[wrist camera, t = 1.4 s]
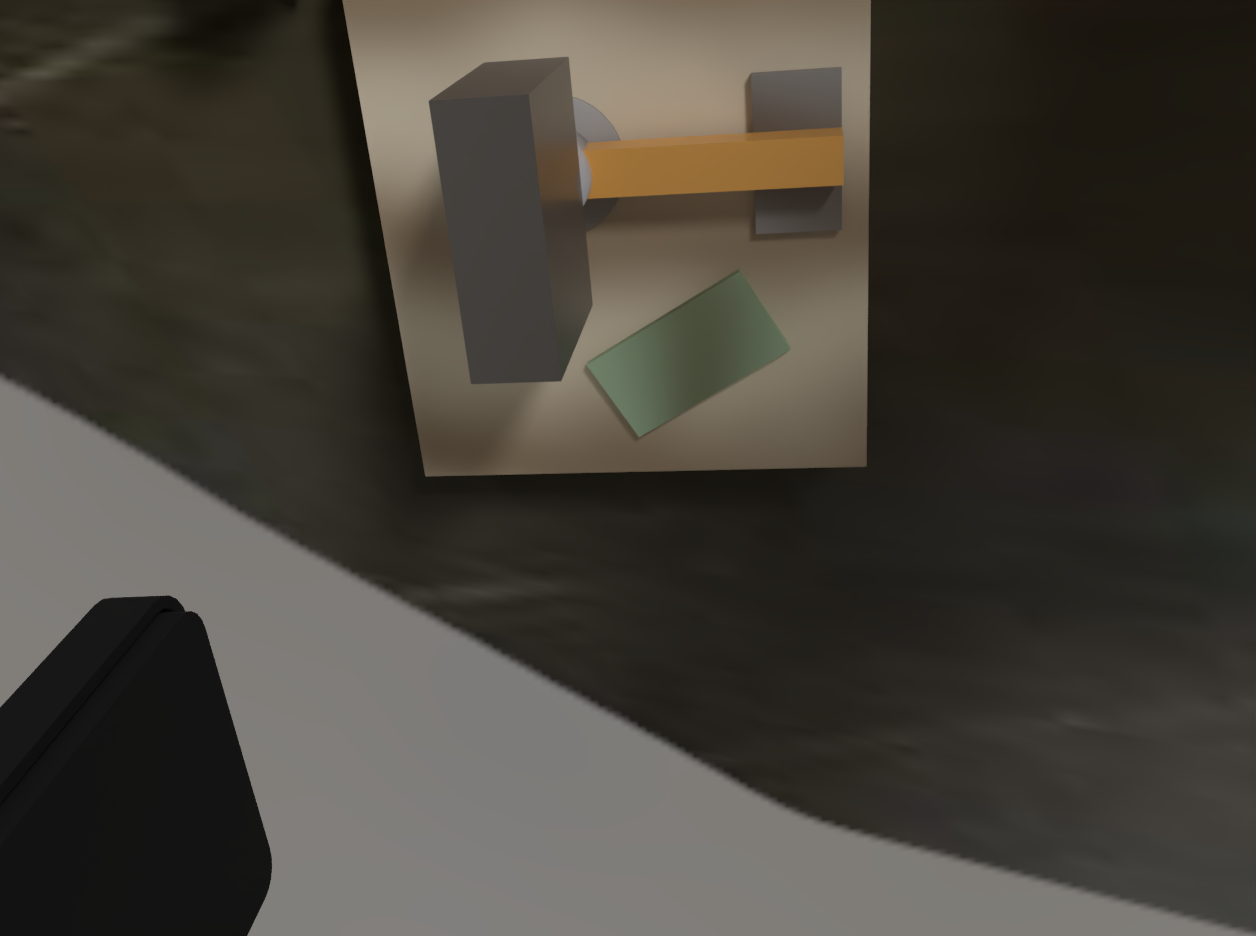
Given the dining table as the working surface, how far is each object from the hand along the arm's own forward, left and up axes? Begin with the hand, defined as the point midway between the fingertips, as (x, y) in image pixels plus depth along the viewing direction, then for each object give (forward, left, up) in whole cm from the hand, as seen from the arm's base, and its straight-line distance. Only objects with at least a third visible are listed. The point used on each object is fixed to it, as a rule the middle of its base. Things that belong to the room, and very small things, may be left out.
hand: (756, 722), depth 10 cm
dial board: (+2, -4, -26) cm, 26 cm away
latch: (0, -2, -23) cm, 23 cm away
